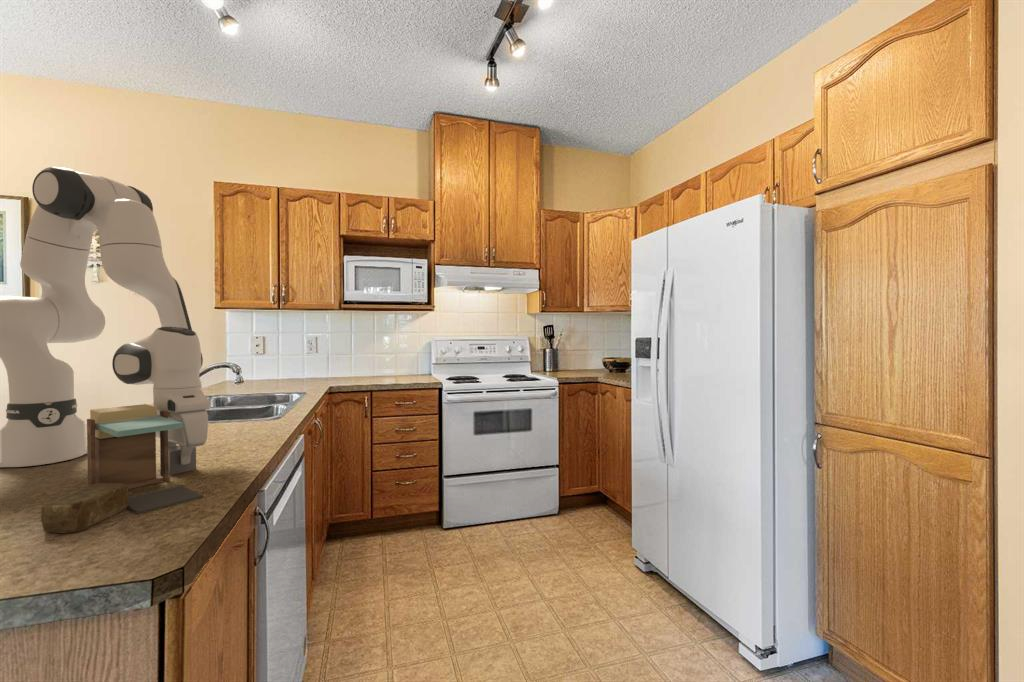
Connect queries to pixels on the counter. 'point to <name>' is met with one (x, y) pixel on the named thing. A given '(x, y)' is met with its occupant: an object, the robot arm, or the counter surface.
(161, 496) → the rubber mat
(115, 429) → the trapdoor
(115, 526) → the counter surface
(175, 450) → the stone cube
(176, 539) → the counter surface
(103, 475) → the trapdoor frame
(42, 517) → the stone block
